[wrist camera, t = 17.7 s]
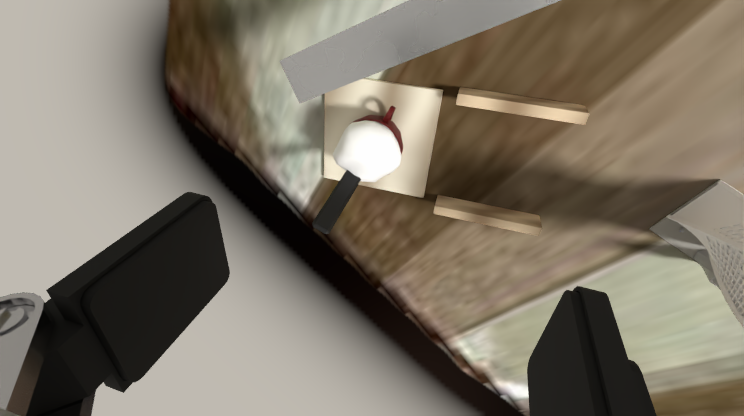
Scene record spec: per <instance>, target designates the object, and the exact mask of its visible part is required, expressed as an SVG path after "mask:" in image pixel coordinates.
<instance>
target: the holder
mask: <svg viewBox="0 0 744 416" xmlns="http://www.w3.org/2000/svg"><path fill="white" fill-rule="evenodd" d="M456 105H461V106H468V107H474V108H481V109H487V110H493V111H500V112H506V113H512V114H519V115H525V116H532V117H538V118H544V119H551V120H557V121H563V122H570V123H576V124H583V125H585V124H586V121H587V119H588V116H589V114H590V113H589V112H588V110H587V109H586V108H585V106H584V105H580V104H573V103H566V102H559V101H552V100H546V99H539V98H532V97H525V96H519V95H512V94H505V93H498V92H491V91H485V90H478V89H471V88H464V87H460V89H459V92H458V97H457V101H456ZM433 214H438V215H442V216H447V217H452V218H456V219H461V220H466V221H470V222H475V223H480V224H485V225H489V226H494V227H499V228H503V229H508V230H513V231H517V232H522V233H527V234H531V235H536V236H539V235H540V232H541V230H542V225H541V221H540V216H539V215H535V214H530V213H525V212H520V211H515V210H511V209H506V208H501V207H496V206H491V205H486V204H481V203H476V202H471V201H466V200H461V199H456V198H451V197H447V196H442V195H438V196H437V200H436V204H435V208H434V213H433Z"/></svg>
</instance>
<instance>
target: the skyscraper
mask: <svg viewBox="0 0 744 416" xmlns="http://www.w3.org/2000/svg"><path fill="white" fill-rule="evenodd" d="M649 229H650V230H651V231H653V232H654V233H656V234H657V235H658V236H660V237H661V238H663V239H664V240H666V241H667V242H669V243H670V244H672V245H673V246H674V247H676V248H677V249H679V250H680V251H682V252H683V253H685V254H686V255H688V256H689V257H690V258H692V259H693V260H695V261H696V262H698V263H699V264H700V265H701V266H702V268H703V269H704V271H705V273H706V275H707V277H708V279H709V281H710V282H711V283H713V284H714V285H716V286H717V287H718V288H719V289H720V290H721V291H722V293H723V295H724V298H725V300H726V301H727V303H728V305H729V307H730V308H731V310H732V312H733V314H734V315H735V316H736V318H737V319H738V321H739V322H740V324H741V325H742V327H743V328H744V194H742V193H741V192H739V191H738V190H736V189H735V188H733V187H732V186H730V185H728V184H727V183H725V182H724V181H722V180H720V179H719V180H718V181H717V182H715V183H714V184H712V185H711V186H709V187H708V188H706V189H705V190H704V191H702V192H701V193H699V194H698V195H696V196H695V197H693V198H692V199H691V200H689V201H688V202H686V203H685V204H683V205H682V206H681V207H679V208H678V209H676V210H675V211H673V212H672V213H670V214H669V215H668V216H666V217H665V218H663V219H662V220H660V221H659V222H657V223H656V224H655V225H653V226H652V227H650V228H649Z"/></svg>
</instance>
